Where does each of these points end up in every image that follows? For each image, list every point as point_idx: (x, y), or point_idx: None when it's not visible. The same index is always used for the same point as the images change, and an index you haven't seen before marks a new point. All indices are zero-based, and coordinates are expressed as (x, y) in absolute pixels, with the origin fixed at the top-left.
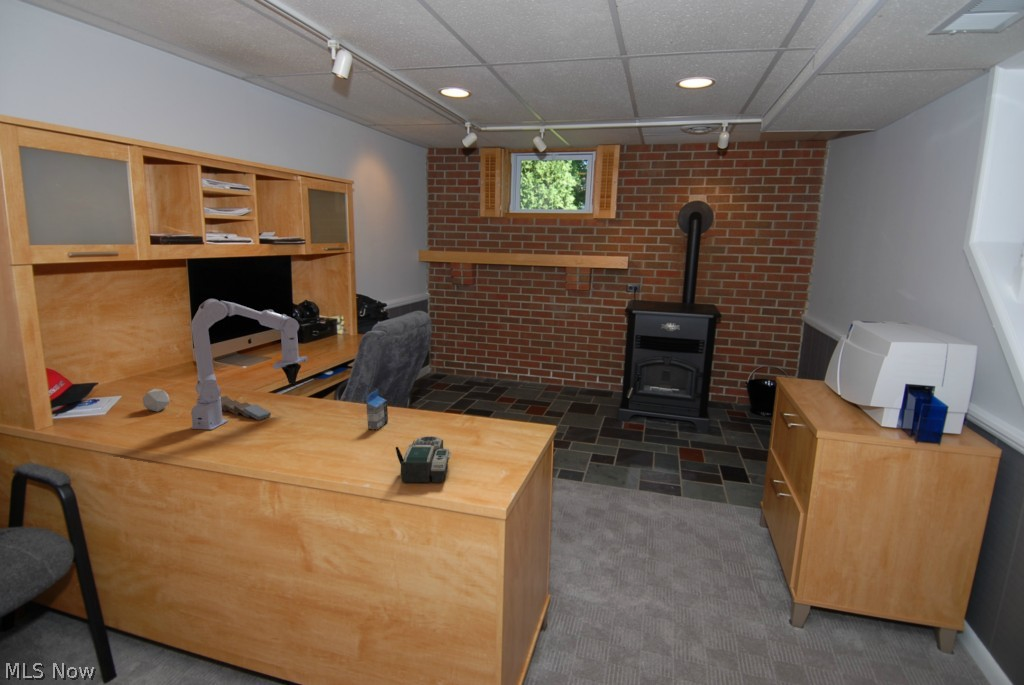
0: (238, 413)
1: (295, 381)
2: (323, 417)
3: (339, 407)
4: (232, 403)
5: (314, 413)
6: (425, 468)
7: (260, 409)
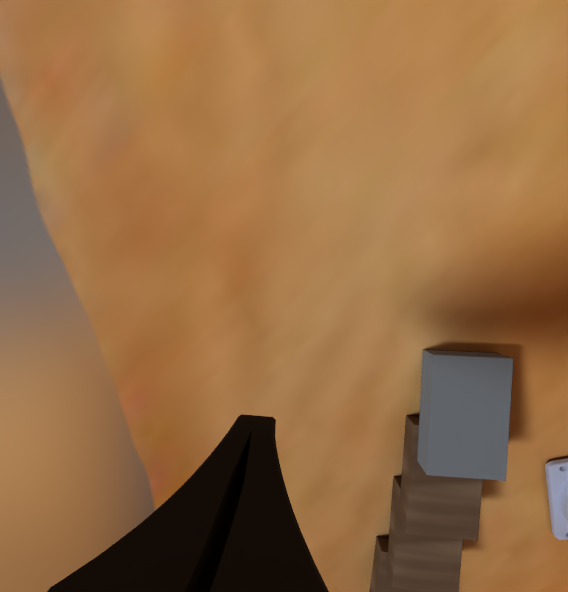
0: None
1: (239, 424)
2: (316, 50)
3: (118, 115)
4: (427, 570)
5: (280, 173)
6: None
7: (448, 415)
